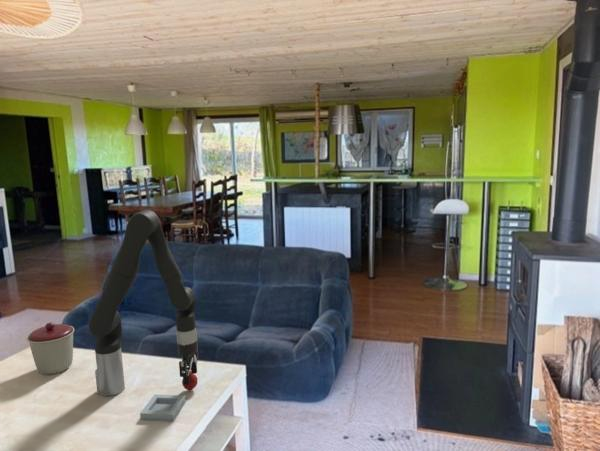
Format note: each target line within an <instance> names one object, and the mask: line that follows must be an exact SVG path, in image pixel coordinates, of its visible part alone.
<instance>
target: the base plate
mask: <svg viewBox="0 0 600 451" xmlns="http://www.w3.org/2000/svg"><path fill="white" fill-rule="evenodd" d="M186 402H187V399H186V395H174V394H153V395H152V397H151V398H150V399H149V401H148V402H147V404H146V405H145V406H144V408H143V409H142V410H141V411H140V413H139V416H140V420H141V421H160V422H175V420H176V418H177V416H178V415H179V414H180V412H181V411H182V409H183V407H184V406H185V404H186Z"/></svg>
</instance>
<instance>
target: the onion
mask: <svg viewBox="0 0 600 451" xmlns="http://www.w3.org/2000/svg"><path fill="white" fill-rule="evenodd" d="M189 379H190V384H189V385H184V382H183V379H182V380H181V384H182V386H183V388H184V389H185V390H188V391H193V389H195V388H196V387H197V385H198V381H199V380H198V377H197V375H195V374H193V373H191V370H190V371H189Z"/></svg>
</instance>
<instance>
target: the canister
mask: <svg viewBox="0 0 600 451" xmlns="http://www.w3.org/2000/svg"><path fill="white" fill-rule="evenodd" d="M74 332H75V327H73V325H69V324H64V323H56V324H55V323H54V322H52V321H51V322H47V323H46V324H45V325H44V326H42V327H39V328H36V329H35V330H33V331H32V332H30V333H29V334H27V336H26V341H27V342H28V343H29V347H30V350H31V355H32V358H33V363H34V365H35V367H36V370H37V372H39V374H42V375H56V374H60V373H62V372H65V371H66V370H67V369H69V368H70V367H71V365H72V364H73V357H74Z"/></svg>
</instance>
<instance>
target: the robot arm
mask: <svg viewBox="0 0 600 451" xmlns="http://www.w3.org/2000/svg"><path fill="white" fill-rule="evenodd" d="M163 230H164V229H163V227H162V223H161V221H160V218H159V216H158V215H157V213H155V211H152V210H150V209H144V210H140V211H139V212H136V213H134V214H133V215H132V216H130V218H129V219H128V221H127V225H126V229H125V232H124V235H123V236H124V237H123V239H122V243H121V246H120V248H119V249H118V252H117V253H116V254H117V255H116V256H115V259H114V261H113V264H112V267H111V268H110V271H109V273H108V277H107V279H106V283H105V285H104V288H103V291H102V293H101V296H100V299H99V301H98V303H97V305H96V307H95V309H94V310H93V312H92V314H91V316H90V318H89V320H88V331H89V333H90V334H91V335H92V336H93V337H95V338H97V340H96V341H95V344H94V353H95V362H96V369H95V371H94V376H95V385H96V394H99V395H101V396H102V397H103V396H104V397H111V396H116V395H119V394H120V393H122V392H123V391H124V390H125V388H126V386H125V376H124V374H125V373H124V365H123V355H122V344H121V343H122V339H123V331H122V330H123V329H122V328H123V327H122V318H121V315H120V313H119V311H118V309H119V307H120V305H121V304H122V302H123V301H124V299H125V298H126V296H127V295H128V294H129V292H130V290H131V289H132V287H133V285H134V283H135V280H136V279H137V275H138V274H139V271H140V270H139V269H140V260H141V254H142V250H143V248H144V246H145V244H146V242H147V241H148V243H149V245H150V247H151V250H152V254H153V257H154V262H155V265H156V266H155V267H156V268H157V272H158V273H159V275H160V277H161V280H162V281H163V283H164V284H165V288H166V292H167V295H168V299H169V301H170V303H171V305H172V307H174V308H175V309H176V310H177V314H176V318H175V325H176V326H175V327H176V344H177V345H176V346H177V353H178V354H180V355H181V356H182V358H181V360H180V361H179V362H178V367H179V377H181V378H182V380H183V382H184V385H189V384H190V379H189V371H191V373H193V374H194V375H195V374H197V373H198V366H197V365H198V361H199V346H198V345H199V343H198V333H197V328H196V319H195V318H196V316H195V312H196V296H195V292H194V290H193V289H192V288H190V287H189V286H184V282H183V281H184V277H183V274H182V272H181V270H180V267H179V266H178V264H177V262H176V259H175V258H174V256H173V253H172V251H171V249H170V246H169V244H168V242H167V239H166V237H165V233H164V231H163Z"/></svg>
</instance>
